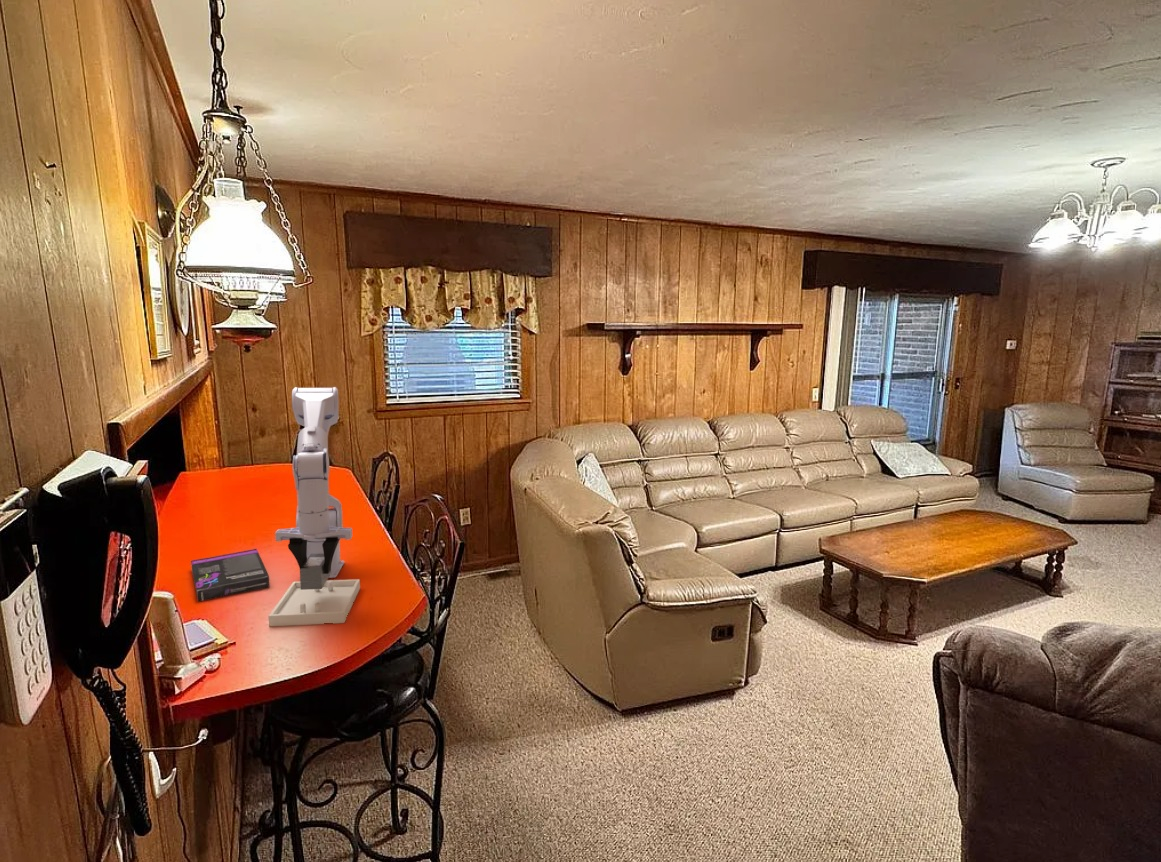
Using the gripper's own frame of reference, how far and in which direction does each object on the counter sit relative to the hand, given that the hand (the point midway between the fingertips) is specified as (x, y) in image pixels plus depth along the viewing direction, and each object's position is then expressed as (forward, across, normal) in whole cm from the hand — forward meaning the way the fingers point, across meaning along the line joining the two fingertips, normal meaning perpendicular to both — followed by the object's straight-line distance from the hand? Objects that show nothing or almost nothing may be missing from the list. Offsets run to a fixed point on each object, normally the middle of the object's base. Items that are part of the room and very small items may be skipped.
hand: (316, 572), depth 126 cm
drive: (+2, 0, 0) cm, 2 cm away
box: (+8, -23, +16) cm, 29 cm away
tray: (+8, 0, 0) cm, 8 cm away
